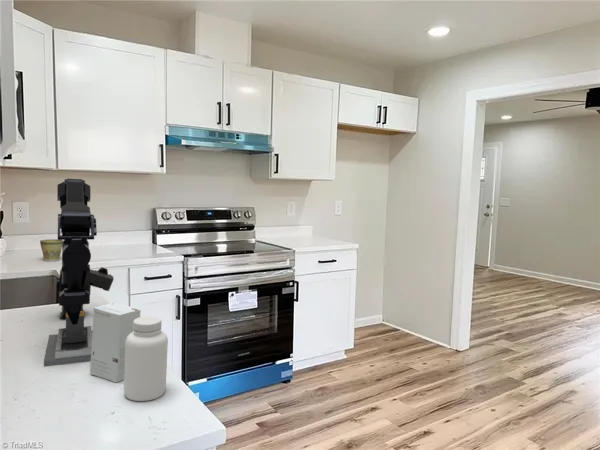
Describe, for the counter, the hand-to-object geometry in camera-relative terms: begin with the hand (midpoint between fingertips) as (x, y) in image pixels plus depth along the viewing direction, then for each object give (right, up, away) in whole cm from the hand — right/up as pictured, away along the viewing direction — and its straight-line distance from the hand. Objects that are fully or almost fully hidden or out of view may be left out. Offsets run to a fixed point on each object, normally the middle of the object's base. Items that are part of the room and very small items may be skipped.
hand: (74, 324), depth 107 cm
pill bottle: (+24, -10, -19) cm, 33 cm away
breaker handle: (-1, -5, +3) cm, 6 cm away
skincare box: (+15, -8, -12) cm, 21 cm away
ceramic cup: (-67, +7, +111) cm, 130 cm away
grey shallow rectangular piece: (0, -6, +1) cm, 6 cm away
